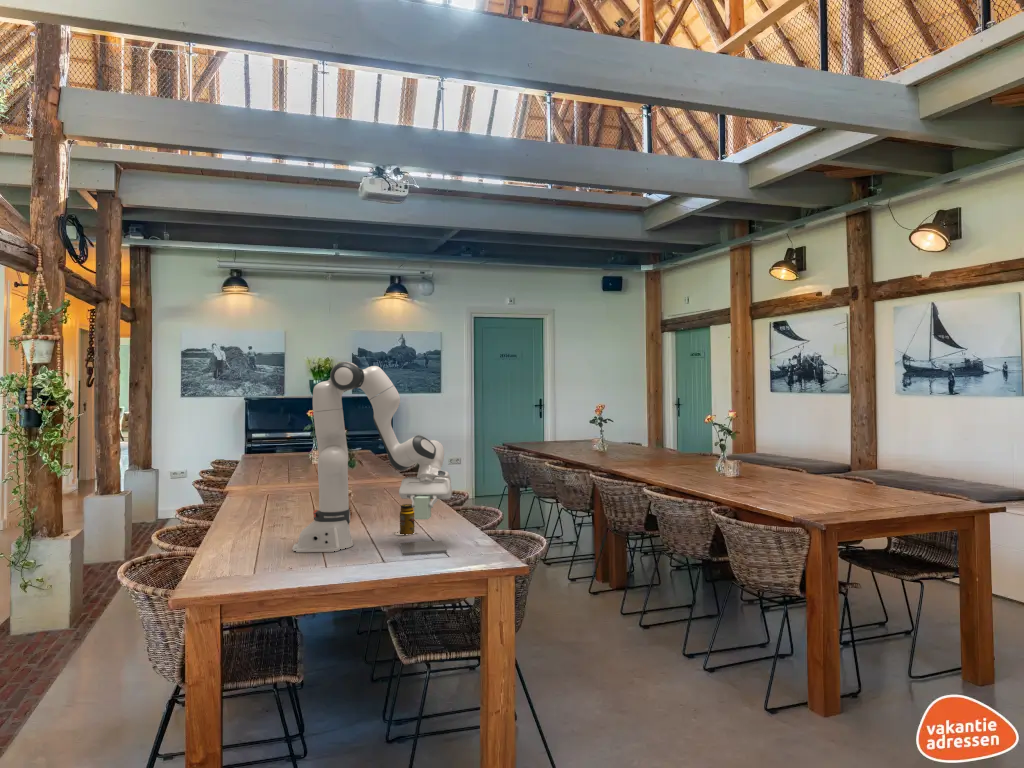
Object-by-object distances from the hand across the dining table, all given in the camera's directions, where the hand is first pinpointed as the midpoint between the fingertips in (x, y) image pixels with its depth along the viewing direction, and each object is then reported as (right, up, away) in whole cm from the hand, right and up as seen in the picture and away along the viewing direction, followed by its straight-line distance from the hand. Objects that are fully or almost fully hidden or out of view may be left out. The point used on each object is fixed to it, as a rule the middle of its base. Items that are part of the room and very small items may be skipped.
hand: (422, 506), depth 260 cm
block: (0, -4, +1) cm, 4 cm away
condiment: (-11, -16, +28) cm, 34 cm away
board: (0, -16, +1) cm, 16 cm away
